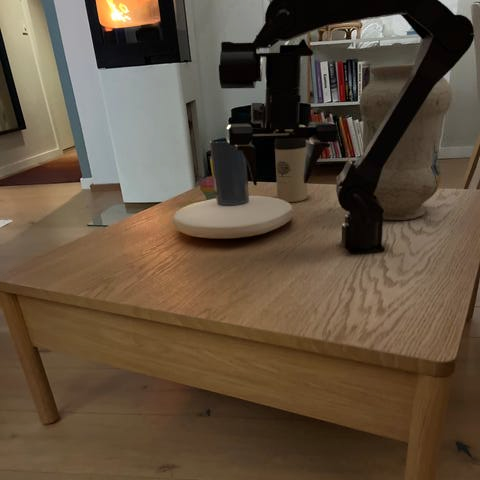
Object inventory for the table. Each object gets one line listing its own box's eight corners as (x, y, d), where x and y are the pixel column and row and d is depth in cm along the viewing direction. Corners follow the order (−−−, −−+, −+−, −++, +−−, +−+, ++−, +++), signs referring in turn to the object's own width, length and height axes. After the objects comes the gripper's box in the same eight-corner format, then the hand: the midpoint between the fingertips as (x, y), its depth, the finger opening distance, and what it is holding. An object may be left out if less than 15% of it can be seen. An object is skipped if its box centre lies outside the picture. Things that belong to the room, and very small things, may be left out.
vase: (424, 200, 115) (437, 59, 101) (451, 220, 99) (472, 57, 85) (349, 205, 116) (352, 67, 102) (364, 227, 100) (370, 67, 86)
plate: (193, 193, 120) (298, 190, 115) (195, 219, 123) (298, 217, 117) (152, 212, 95) (284, 209, 89) (156, 244, 98) (285, 243, 92)
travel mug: (294, 193, 131) (292, 124, 123) (313, 198, 125) (312, 125, 117) (271, 199, 128) (267, 128, 119) (290, 204, 122) (287, 129, 113)
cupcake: (198, 201, 133) (193, 156, 128) (227, 196, 135) (223, 152, 130) (206, 208, 126) (200, 161, 120) (236, 203, 128) (232, 156, 122)
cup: (256, 200, 104) (251, 137, 98) (231, 207, 100) (225, 143, 94) (234, 196, 109) (229, 136, 103) (210, 203, 105) (203, 141, 99)
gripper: (324, 85, 86) (318, 173, 94) (222, 87, 85) (224, 177, 92) (343, 87, 77) (335, 185, 84) (228, 90, 75) (230, 190, 82)
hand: (280, 184), depth 86 cm, fingers open, 9 cm apart
